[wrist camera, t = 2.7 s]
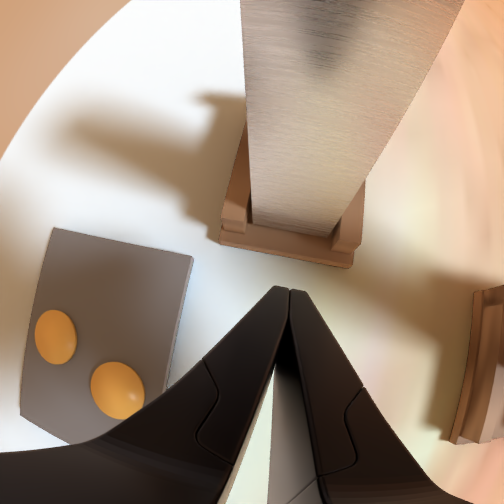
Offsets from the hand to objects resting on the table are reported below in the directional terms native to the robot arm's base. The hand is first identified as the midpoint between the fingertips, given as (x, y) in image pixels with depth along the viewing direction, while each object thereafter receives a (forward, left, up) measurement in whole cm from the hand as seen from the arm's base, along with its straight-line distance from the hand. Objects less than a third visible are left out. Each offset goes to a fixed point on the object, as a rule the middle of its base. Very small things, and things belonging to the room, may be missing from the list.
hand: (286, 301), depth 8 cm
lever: (+5, +3, -6) cm, 8 cm away
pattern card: (-8, +6, -7) cm, 12 cm away
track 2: (+6, -14, -7) cm, 17 cm away
